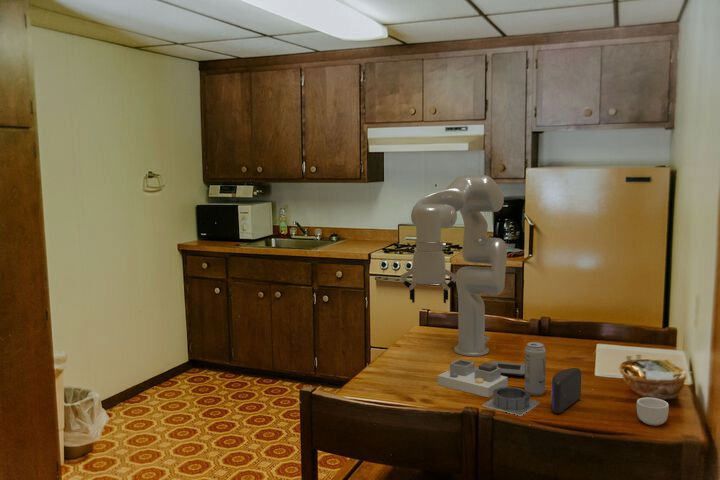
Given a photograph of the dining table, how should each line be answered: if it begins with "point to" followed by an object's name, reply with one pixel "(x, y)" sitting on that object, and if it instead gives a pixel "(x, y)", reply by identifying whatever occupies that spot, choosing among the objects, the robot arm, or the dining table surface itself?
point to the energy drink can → (535, 368)
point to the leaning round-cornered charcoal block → (565, 389)
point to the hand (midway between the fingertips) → (429, 302)
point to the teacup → (652, 410)
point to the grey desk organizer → (472, 378)
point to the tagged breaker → (487, 367)
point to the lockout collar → (511, 401)
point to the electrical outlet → (510, 368)
